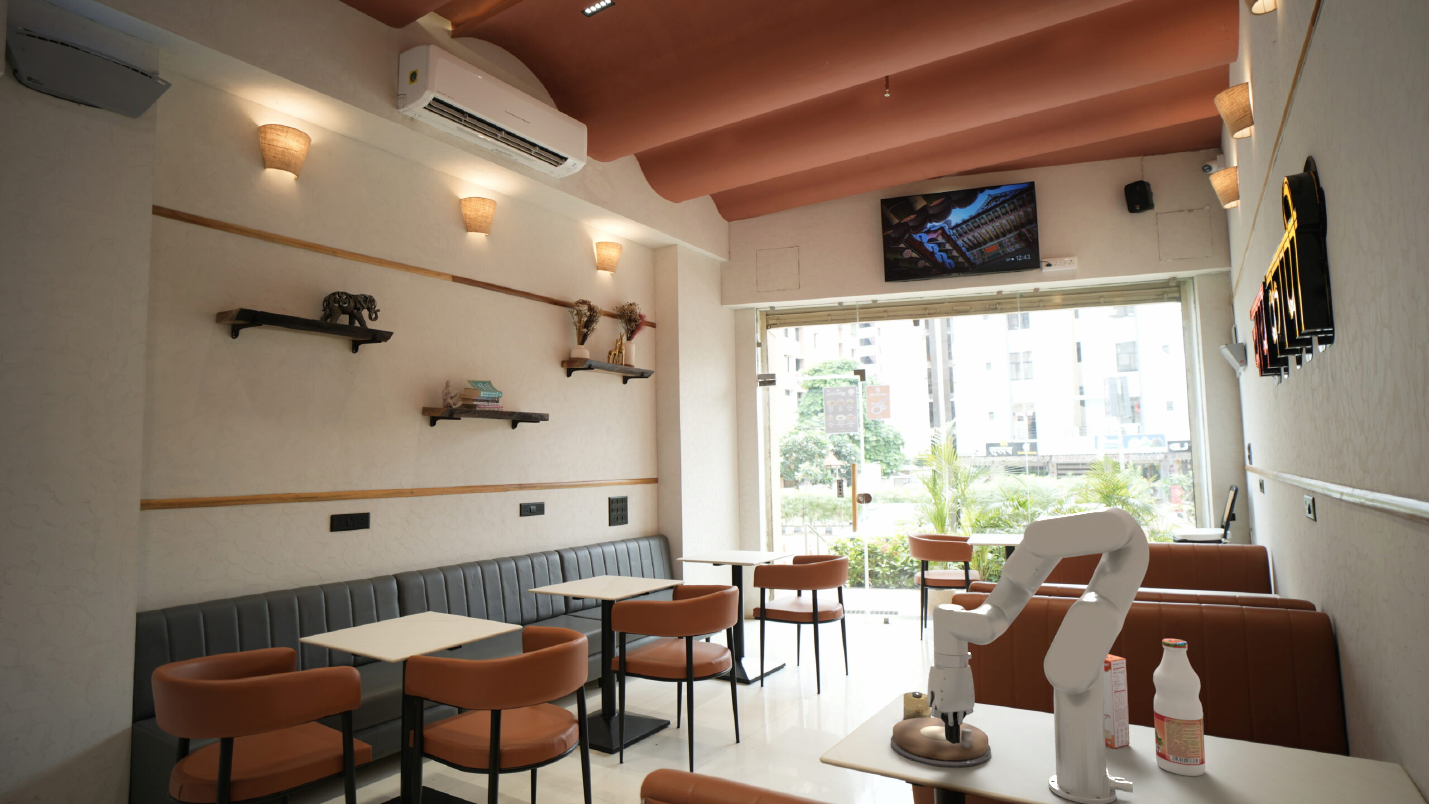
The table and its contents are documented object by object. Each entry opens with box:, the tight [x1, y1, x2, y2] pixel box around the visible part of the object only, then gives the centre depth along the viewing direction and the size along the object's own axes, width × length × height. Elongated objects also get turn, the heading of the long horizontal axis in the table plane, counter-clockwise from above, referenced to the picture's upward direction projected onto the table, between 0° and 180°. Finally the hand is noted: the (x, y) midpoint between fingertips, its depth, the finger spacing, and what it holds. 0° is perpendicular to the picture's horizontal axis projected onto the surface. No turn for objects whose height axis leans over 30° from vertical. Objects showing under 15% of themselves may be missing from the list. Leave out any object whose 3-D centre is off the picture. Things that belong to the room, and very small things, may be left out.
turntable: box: [892, 717, 990, 760], centre depth 179 cm, size 22×22×6 cm
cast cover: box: [903, 691, 932, 721], centre depth 199 cm, size 7×7×7 cm
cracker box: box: [1104, 653, 1130, 749], centre depth 186 cm, size 14×6×21 cm, turn 25°
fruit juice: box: [1152, 638, 1206, 777], centre depth 168 cm, size 9×9×28 cm
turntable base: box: [890, 734, 992, 769], centre depth 179 cm, size 23×23×1 cm
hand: (952, 741), depth 171 cm, fingers closed
